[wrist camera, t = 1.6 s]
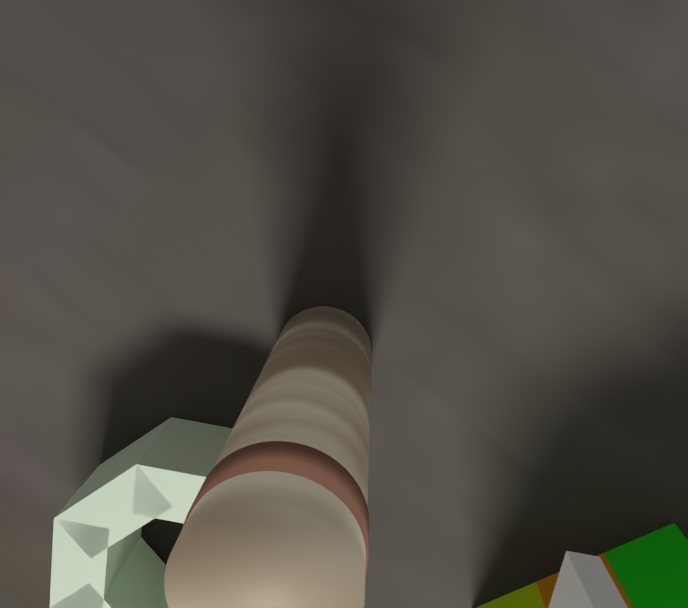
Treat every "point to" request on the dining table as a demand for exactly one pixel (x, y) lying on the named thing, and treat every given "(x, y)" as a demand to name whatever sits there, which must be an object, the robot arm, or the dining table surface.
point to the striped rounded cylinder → (287, 482)
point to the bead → (129, 517)
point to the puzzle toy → (627, 574)
